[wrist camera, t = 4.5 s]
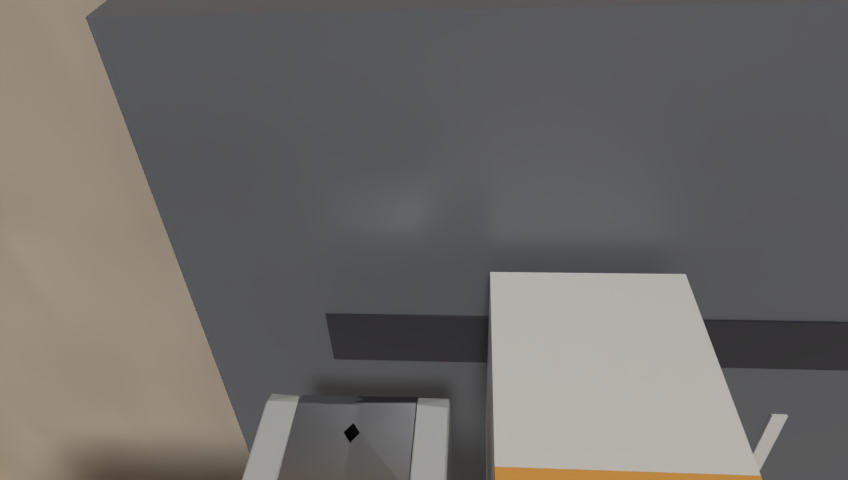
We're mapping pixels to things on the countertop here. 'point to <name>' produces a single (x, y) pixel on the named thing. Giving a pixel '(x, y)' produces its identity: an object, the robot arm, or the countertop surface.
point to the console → (498, 187)
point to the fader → (606, 382)
